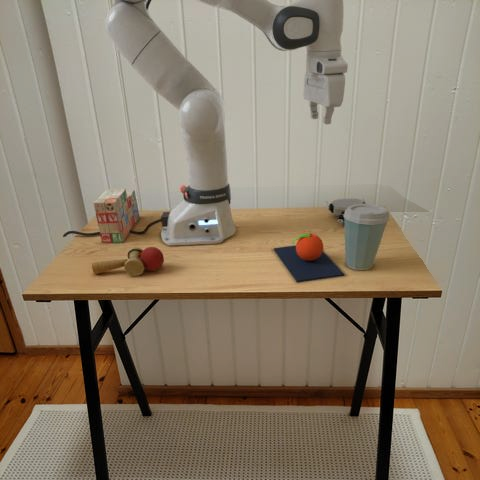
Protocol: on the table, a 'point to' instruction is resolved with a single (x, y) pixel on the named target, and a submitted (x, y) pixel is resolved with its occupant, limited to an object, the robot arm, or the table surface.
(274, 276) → the table surface
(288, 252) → the cloth
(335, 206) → the robot toy
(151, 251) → the kendama
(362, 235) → the disposable coffee cup
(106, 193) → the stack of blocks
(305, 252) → the clementine
